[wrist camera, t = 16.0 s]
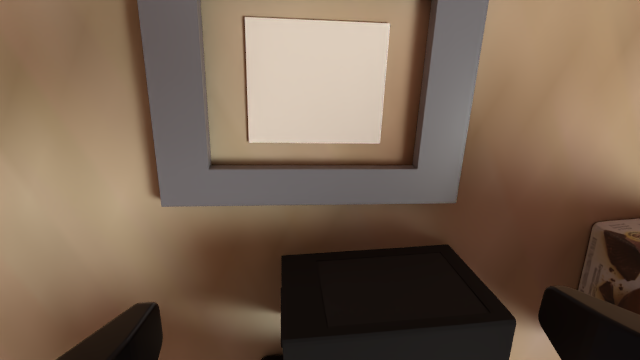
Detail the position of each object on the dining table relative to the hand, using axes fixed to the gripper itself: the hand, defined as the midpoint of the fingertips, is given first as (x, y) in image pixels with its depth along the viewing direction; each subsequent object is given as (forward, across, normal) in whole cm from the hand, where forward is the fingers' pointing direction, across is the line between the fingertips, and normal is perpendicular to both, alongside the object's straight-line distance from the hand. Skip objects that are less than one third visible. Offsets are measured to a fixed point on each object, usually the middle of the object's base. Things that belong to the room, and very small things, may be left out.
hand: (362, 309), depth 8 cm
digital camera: (+12, -3, +8) cm, 15 cm away
